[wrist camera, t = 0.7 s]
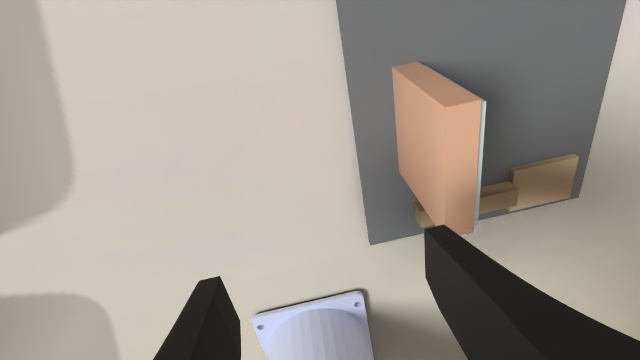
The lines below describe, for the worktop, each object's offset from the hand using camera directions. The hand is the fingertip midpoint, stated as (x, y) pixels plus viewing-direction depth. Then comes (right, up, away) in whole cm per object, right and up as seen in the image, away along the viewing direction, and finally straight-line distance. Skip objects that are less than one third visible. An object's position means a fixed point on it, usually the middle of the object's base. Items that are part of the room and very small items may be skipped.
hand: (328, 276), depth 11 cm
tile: (+5, +6, +8) cm, 11 cm away
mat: (+8, +7, +9) cm, 14 cm away
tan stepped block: (+10, +2, +12) cm, 16 cm away
